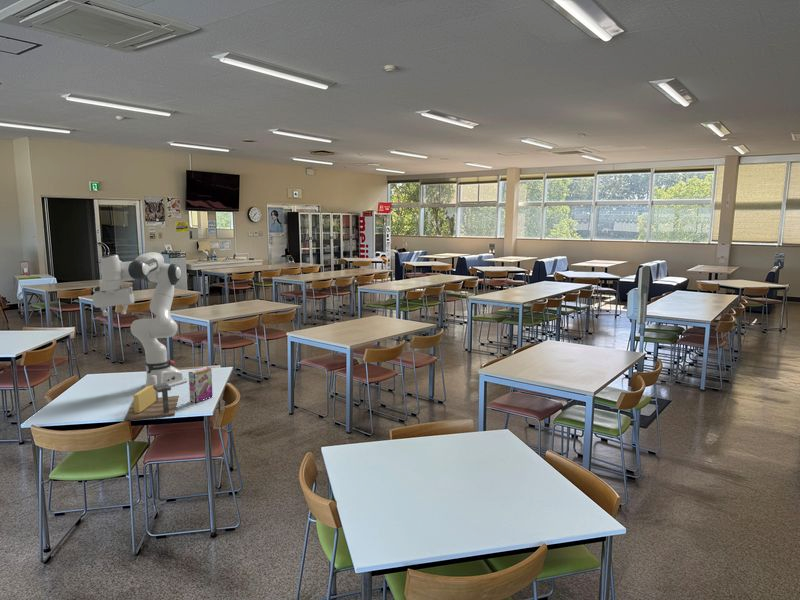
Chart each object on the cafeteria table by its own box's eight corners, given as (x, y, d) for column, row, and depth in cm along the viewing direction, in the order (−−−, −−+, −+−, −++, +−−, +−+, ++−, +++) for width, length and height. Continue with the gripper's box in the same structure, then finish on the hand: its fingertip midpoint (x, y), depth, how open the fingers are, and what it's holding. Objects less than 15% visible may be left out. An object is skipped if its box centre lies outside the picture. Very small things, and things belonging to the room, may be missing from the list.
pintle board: (133, 402, 281) (131, 377, 278) (178, 397, 287) (176, 373, 285) (124, 421, 254) (121, 394, 252) (174, 415, 261) (172, 389, 259)
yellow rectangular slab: (153, 399, 281) (151, 375, 279) (159, 399, 280) (157, 375, 278) (134, 412, 261) (131, 387, 259) (140, 412, 261) (138, 387, 259)
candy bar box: (196, 403, 278) (193, 373, 275) (189, 401, 280) (187, 371, 278) (213, 397, 287) (211, 367, 285) (207, 395, 290) (205, 366, 287)
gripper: (135, 285, 265) (138, 312, 264) (98, 289, 268) (101, 316, 268) (127, 284, 258) (130, 313, 258) (89, 289, 261) (92, 317, 261)
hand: (115, 315), depth 263 cm, fingers open, 8 cm apart
